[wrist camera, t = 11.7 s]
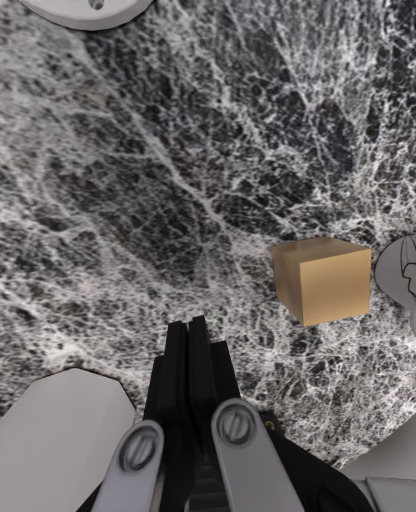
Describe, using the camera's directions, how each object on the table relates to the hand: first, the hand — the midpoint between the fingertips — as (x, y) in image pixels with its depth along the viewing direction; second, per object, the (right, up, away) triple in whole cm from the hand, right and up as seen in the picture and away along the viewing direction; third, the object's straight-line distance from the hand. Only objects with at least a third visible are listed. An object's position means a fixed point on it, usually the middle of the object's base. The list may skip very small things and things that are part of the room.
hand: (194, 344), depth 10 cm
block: (+9, +3, +9) cm, 14 cm away
